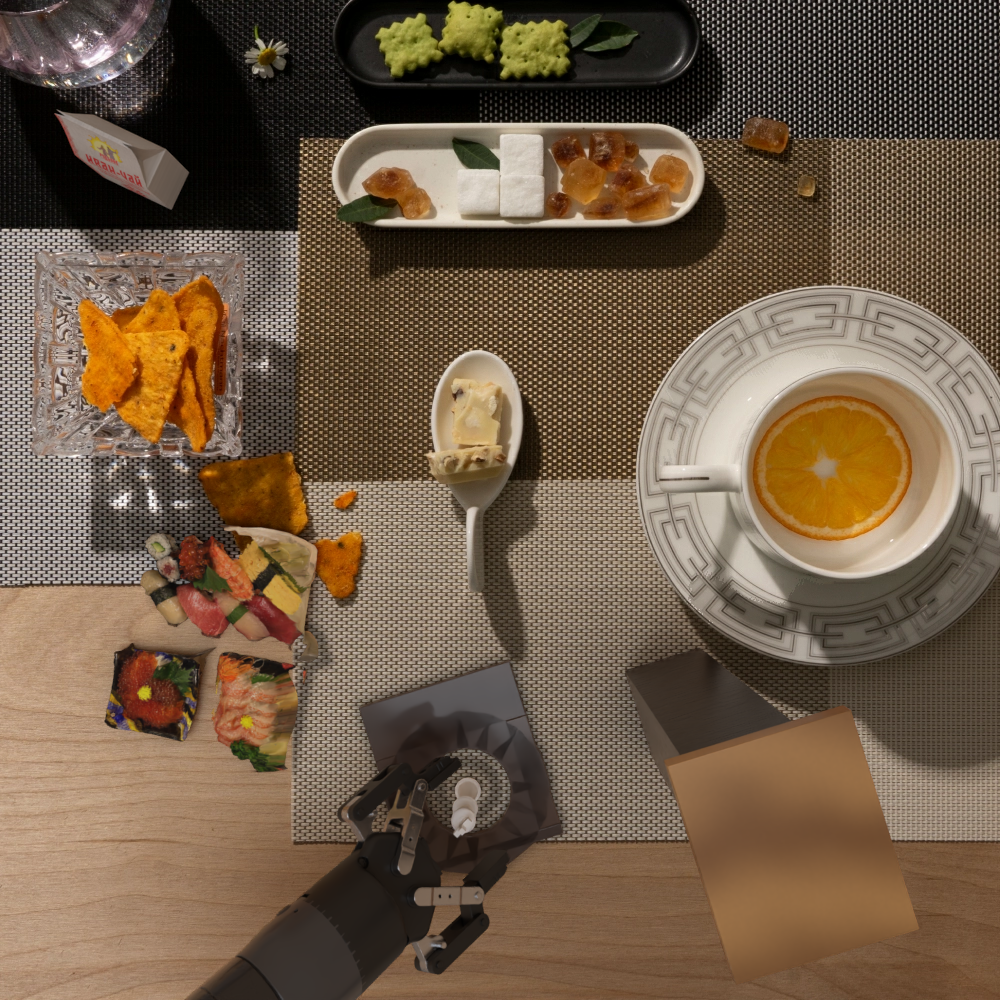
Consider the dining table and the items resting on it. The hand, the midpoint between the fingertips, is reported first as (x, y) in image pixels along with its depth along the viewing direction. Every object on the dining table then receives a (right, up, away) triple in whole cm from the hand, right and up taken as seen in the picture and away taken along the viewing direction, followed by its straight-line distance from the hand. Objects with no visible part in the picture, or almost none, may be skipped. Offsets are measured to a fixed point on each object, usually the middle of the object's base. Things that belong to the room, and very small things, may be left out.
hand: (478, 807), depth 64 cm
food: (-23, +12, +7) cm, 27 cm away
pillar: (+17, +7, +6) cm, 20 cm away
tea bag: (-30, +54, +7) cm, 62 cm away
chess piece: (-1, -1, +7) cm, 7 cm away
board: (-2, +1, +7) cm, 7 cm away
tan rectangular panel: (+17, +7, -23) cm, 29 cm away
